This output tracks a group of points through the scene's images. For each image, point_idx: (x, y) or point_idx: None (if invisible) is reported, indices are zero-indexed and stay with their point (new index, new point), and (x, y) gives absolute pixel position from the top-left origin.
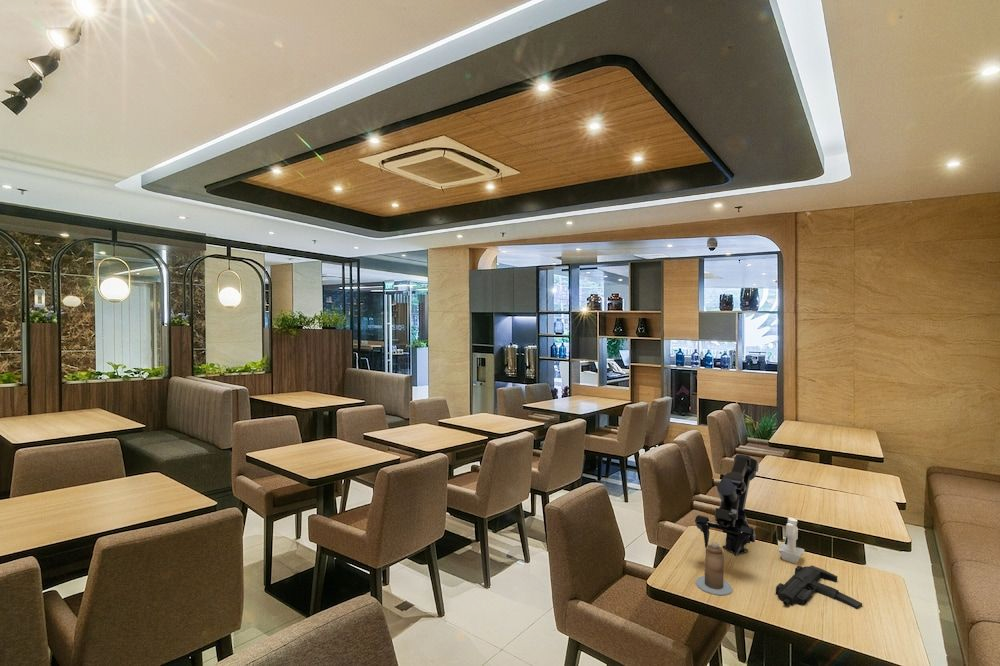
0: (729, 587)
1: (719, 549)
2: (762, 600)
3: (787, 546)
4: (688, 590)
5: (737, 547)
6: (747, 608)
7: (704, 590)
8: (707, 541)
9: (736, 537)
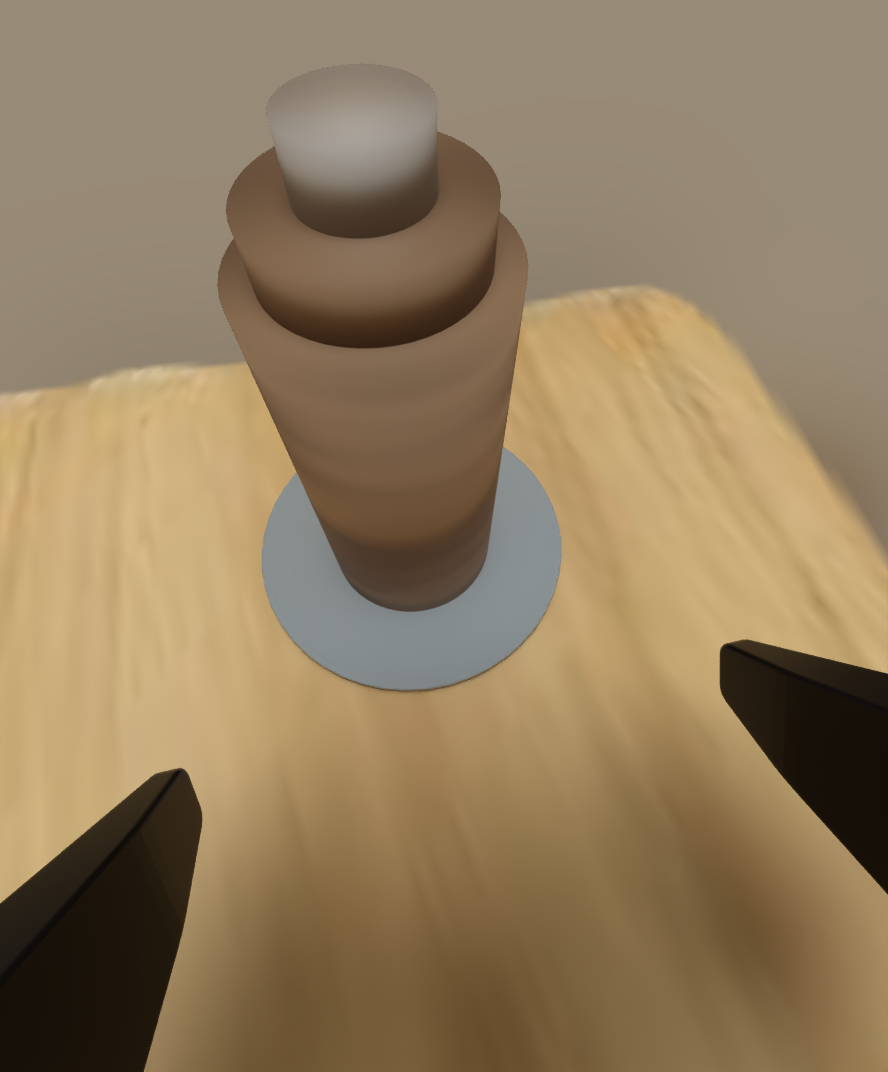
0: (295, 597)
1: (273, 191)
2: (16, 632)
3: None
4: None
5: (23, 911)
6: (118, 445)
7: None
8: (840, 747)
9: None
